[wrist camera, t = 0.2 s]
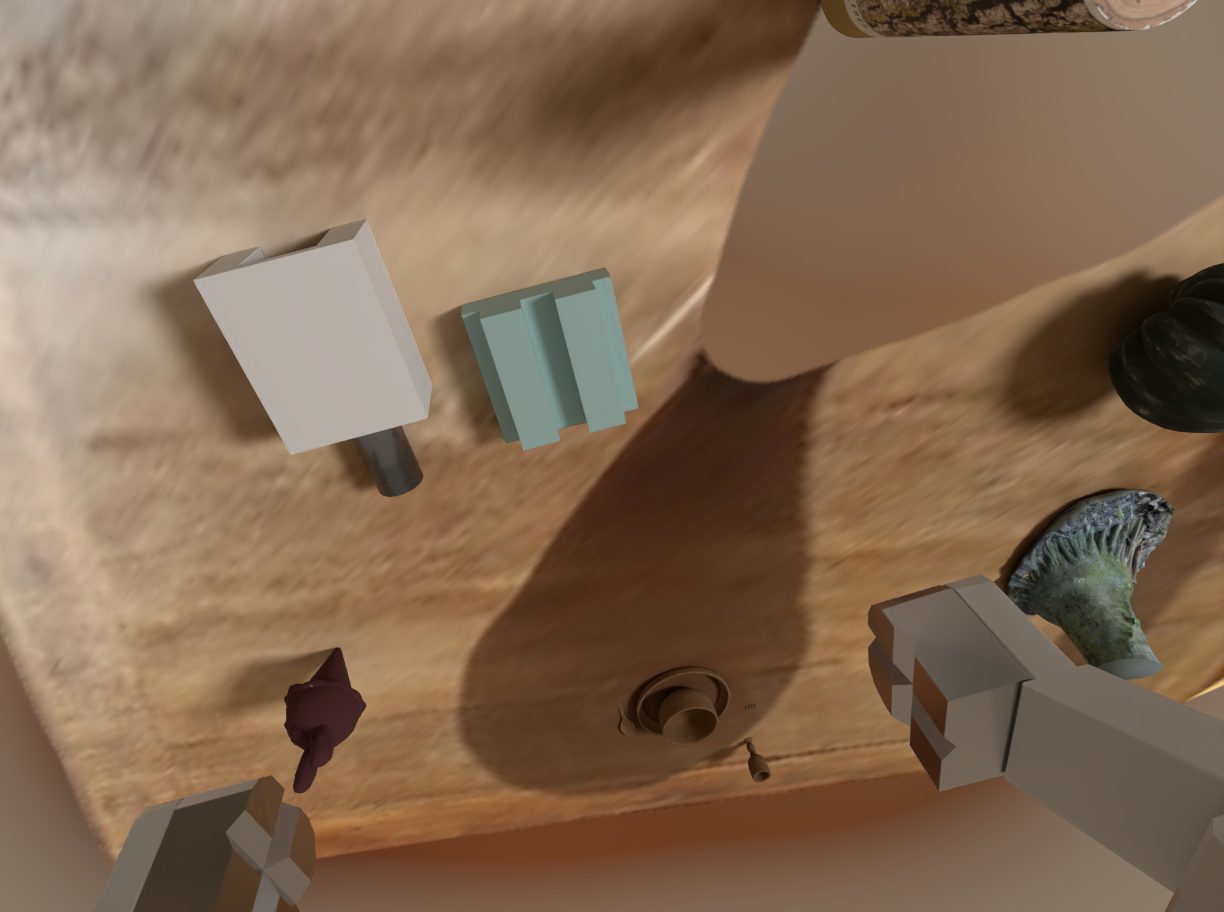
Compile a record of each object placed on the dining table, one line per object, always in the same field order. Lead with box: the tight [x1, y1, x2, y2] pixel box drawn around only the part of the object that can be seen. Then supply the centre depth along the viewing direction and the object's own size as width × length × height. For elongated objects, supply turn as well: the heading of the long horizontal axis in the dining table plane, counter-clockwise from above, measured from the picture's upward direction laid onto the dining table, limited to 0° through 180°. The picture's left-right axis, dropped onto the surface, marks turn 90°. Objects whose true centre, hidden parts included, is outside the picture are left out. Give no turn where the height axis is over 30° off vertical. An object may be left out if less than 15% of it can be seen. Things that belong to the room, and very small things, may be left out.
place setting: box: [617, 667, 771, 782], centre depth 84 cm, size 18×20×6 cm
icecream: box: [284, 648, 366, 793], centre depth 64 cm, size 7×7×15 cm
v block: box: [461, 268, 638, 451], centre depth 56 cm, size 12×12×4 cm
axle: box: [353, 426, 423, 497], centre depth 56 cm, size 14×4×4 cm, turn 12°
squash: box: [1109, 263, 1224, 433], centre depth 60 cm, size 14×15×15 cm
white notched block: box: [193, 219, 432, 455], centre depth 51 cm, size 14×11×6 cm
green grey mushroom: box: [1006, 489, 1176, 680], centre depth 78 cm, size 18×20×18 cm
